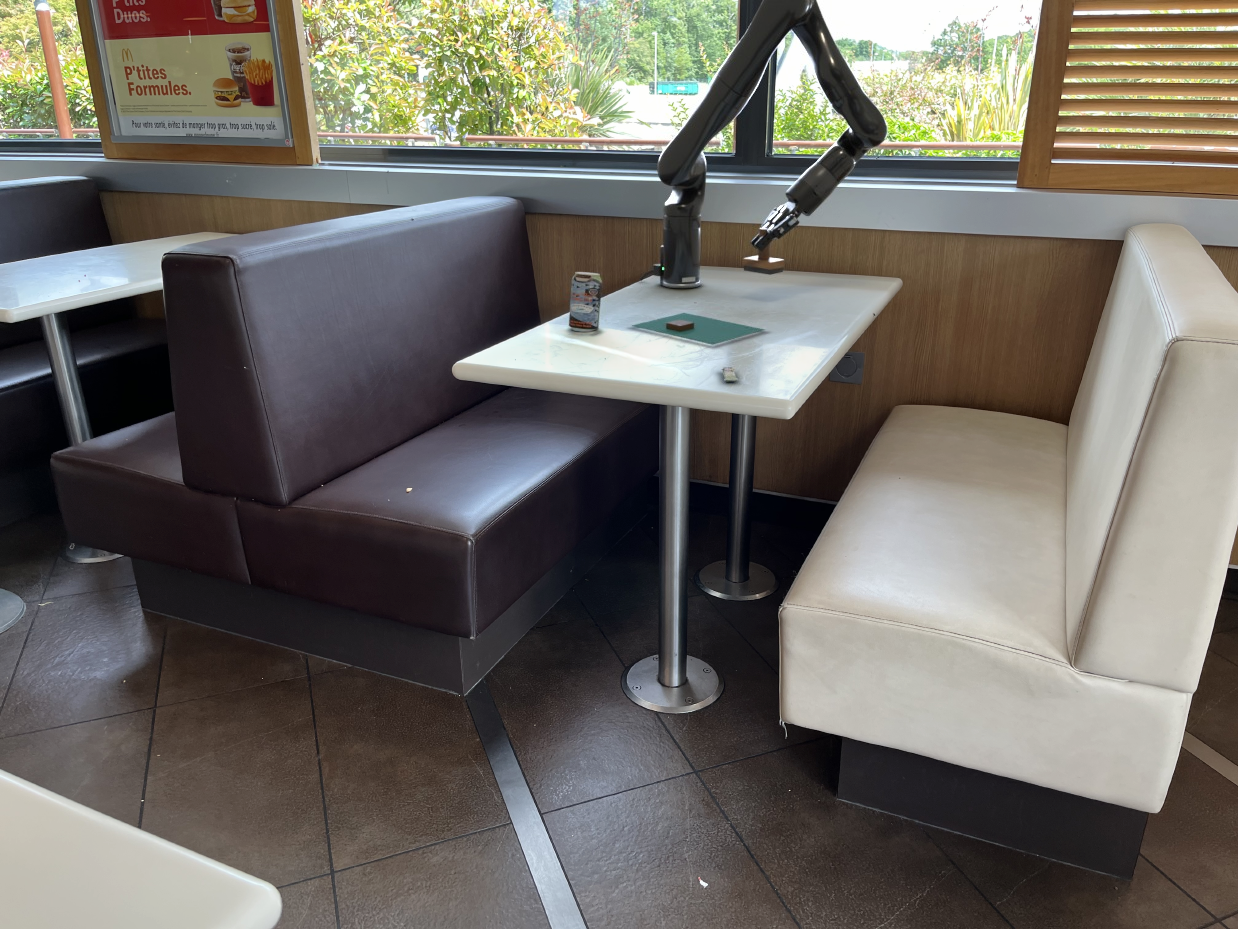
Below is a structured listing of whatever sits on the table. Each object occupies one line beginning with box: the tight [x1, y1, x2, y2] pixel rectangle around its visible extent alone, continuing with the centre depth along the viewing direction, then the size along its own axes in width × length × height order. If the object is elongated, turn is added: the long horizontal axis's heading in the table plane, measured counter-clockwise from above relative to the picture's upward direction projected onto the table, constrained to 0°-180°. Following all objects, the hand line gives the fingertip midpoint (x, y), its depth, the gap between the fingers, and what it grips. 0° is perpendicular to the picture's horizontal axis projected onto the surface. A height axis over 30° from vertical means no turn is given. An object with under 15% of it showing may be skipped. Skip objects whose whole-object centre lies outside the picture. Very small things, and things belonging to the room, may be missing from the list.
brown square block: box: [666, 320, 694, 332], centre depth 180 cm, size 4×4×1 cm
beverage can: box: [568, 271, 603, 333], centre depth 179 cm, size 6×7×12 cm
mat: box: [631, 312, 766, 345], centre depth 181 cm, size 22×16×1 cm
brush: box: [742, 227, 786, 276], centre depth 200 cm, size 8×5×10 cm, turn 44°
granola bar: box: [720, 366, 739, 382], centre depth 150 cm, size 7×2×1 cm, turn 179°
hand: (755, 247), depth 200 cm, fingers closed on brush, 2 cm apart
